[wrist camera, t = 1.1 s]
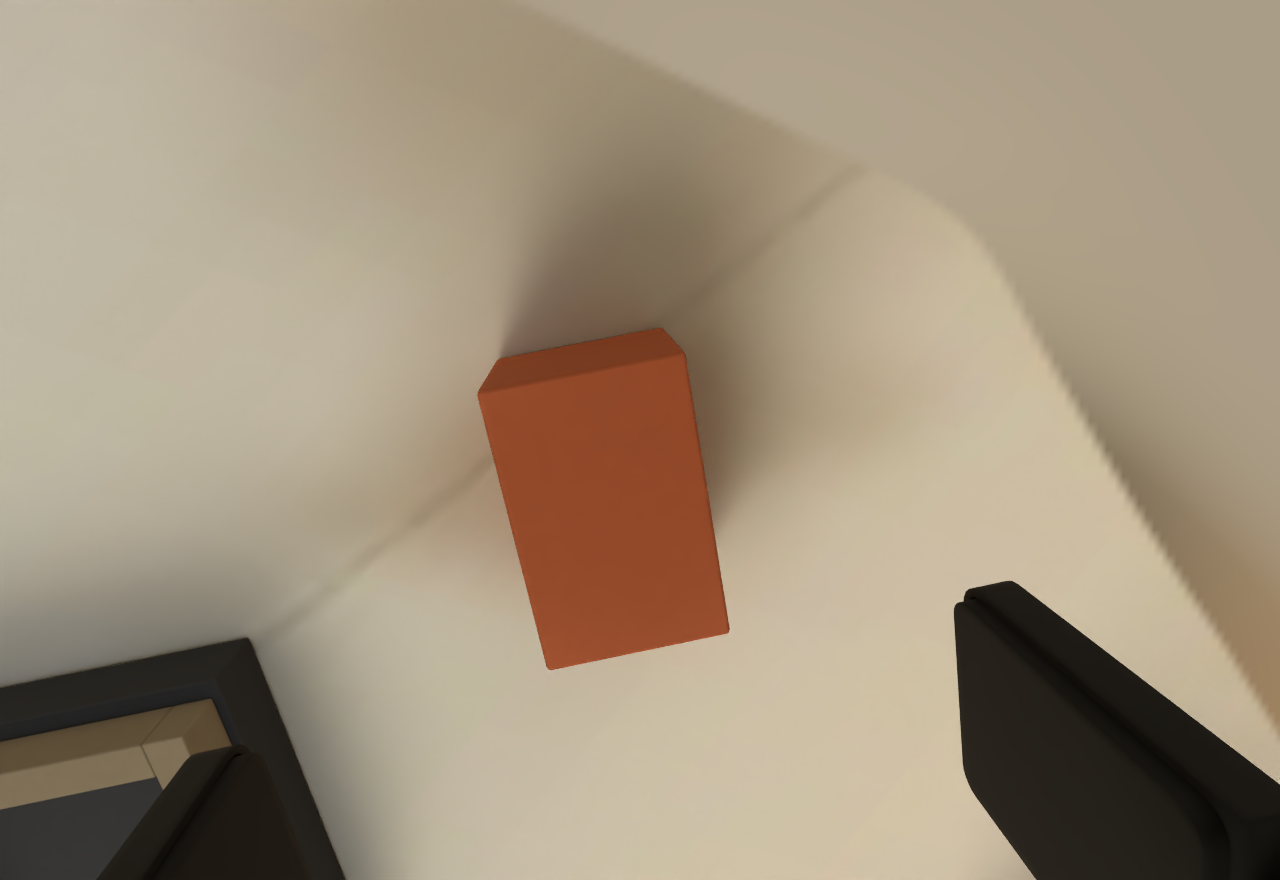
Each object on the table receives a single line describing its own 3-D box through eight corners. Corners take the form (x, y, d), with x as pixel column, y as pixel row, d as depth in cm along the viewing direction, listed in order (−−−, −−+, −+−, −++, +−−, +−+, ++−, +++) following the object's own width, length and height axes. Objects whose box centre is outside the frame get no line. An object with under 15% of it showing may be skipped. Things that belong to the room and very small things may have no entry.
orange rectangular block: (496, 358, 19) (475, 392, 15) (662, 326, 19) (685, 350, 15) (552, 590, 21) (547, 672, 17) (702, 560, 21) (730, 634, 17)
